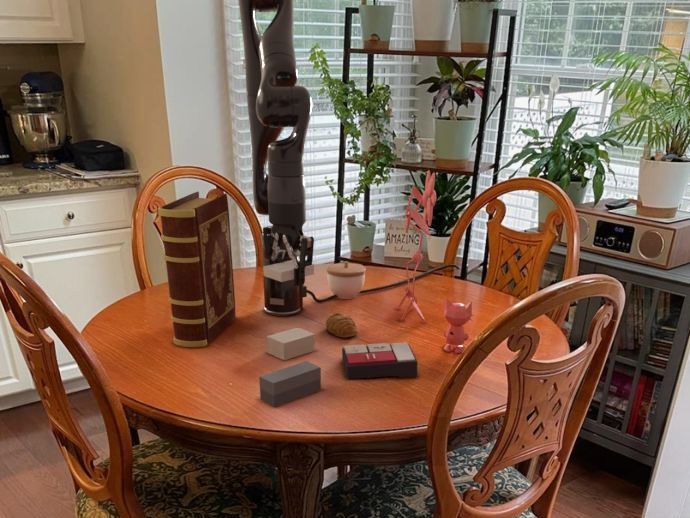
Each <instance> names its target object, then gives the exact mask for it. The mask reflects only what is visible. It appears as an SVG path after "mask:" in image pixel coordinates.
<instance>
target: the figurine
mask: <svg viewBox="0 0 690 518" xmlns="http://www.w3.org/2000/svg"><path fill="white" fill-rule="evenodd" d="M435 182H436V173H435V172H432V174H431V170H430V169H427V172H426V175H425V183H424V184H425V185H424V191H423V192H422V193H421V191H420V190H419V189H418V188H417V187H416V186H415V185H413V186H412V187H411V192H410V196H409V200H408V203H407V206H406V210H405V213H404V220H405V223H406V224H405V225H406V226H405V233H406V234H409V228H410V226H412V227H413V228H414V229H415V230H416V231H417V232H418V233H420V240H419V245H418V251H416V252H414V253H413V254H412V255H411V259H410V260H409V261H407V262H405V268H406V276H407V277H406V279H408V282H407V286H406V287H405V288H404V289H405V294H404V296H403V297H402V299H401V301H400V303H399V305H398V306H397V308H396V309H397V310H398V311H400V309H401V307H402V306H403V304H404V302H405V300H406V298H408V299H409V301H410V302H409V304H408V306H407V307H406V309H405V311H404V312H403V314H402V316H401V318H400V322H403V321H404V319H405V317H406V315H407V314H408V312H409V310H410V308H411V306H412V307H413V308H414V310H415V312H416V313H417V315H418V317H419V318H420V319H421V320H422V321H423V322H424V323H425V322H426V320H425V317H424V315H423V313H422V311H421V310H420V307H419V306H418V300H417V297H416V295H415V282H416V281H415V280H416V279H415V276H416V272H417V269H418V267H419V264H420V263H421V262H422V260H423V255H422V253H421V249H422V243H423V237H424V233H425V234H426V235H428V236H431V232H430V229H429V227H431V225H432V222H433V213H434V212H433V208H434V207H435V205H436V201H437V192H436V190H435ZM413 196H414V197H415V199H416V200H417V201H418V203H417V204H416V205H417V206H416V207H415V208H413V207H410V206H411V204H412V201H413V200H412V199H413ZM420 206H422V207H423V214H420V213H419V212H418V211H417V210H418V209H419V208H420ZM422 215H423V216H422ZM411 219H412V220H413V221H414V223H415V224H416V225H417V226H416V225H415V224H414V223H412V222H411ZM423 232H424V233H423ZM412 262H413V263H415V264H416V266H415V268H414V271H413V273H412V277H413V280H412V289H411V286H410V281H409V278H410V276H409V267H408V264H409V263H412ZM431 304H432V305H437V306H439V307H442V308H444V305H441V304H438V303H434V302H431ZM402 328H404V329H407V326H401V329H402Z"/></svg>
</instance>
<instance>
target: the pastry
mask: <svg viewBox="0 0 690 518" xmlns="http://www.w3.org/2000/svg"><path fill="white" fill-rule="evenodd" d="M325 327H326V330H327V331H328V332H329V333H331V334H332V335H334V336H335V337H338V338H348V337H355V336H356V334H357V333H358V330H357V328H358V327H357V325H356V322H355V320H354V319H353V318H352V317H351V315H350V316H349V315H346V314H344V313H341V312H335V313H333V314H331V315H329V317H327V319H326V321H325Z"/></svg>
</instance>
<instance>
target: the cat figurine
mask: <svg viewBox="0 0 690 518" xmlns="http://www.w3.org/2000/svg"><path fill="white" fill-rule="evenodd" d="M472 308H473V301H470V302H468V303H466V304H464V303H461V302H454V303H452V302H451V301H450V300H449V299H448V298H445V300H444V305H443V315H444V318H445V319H446V322H448V323H449V326H448V328H447V329H446V330H444V334H443V336H444V337H445V344H446V345H444V347H443V349H444V351H446V352H448V353H451V352H453V350H454V353H455V354H460V353H464V352H463V350H464V349H465V347H464V346H463V345H464V344H465V341H467V340H468V339H469V333H468V332H467V331H466V332H465V329H464V325H466V324H467V323H468V322H469V321H472V322H474V321H473V319H471V318H472V317H474V315H473V312H472V311H473V309H472ZM453 346H456V347H455V349H453Z"/></svg>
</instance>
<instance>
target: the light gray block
mask: <svg viewBox="0 0 690 518" xmlns="http://www.w3.org/2000/svg"><path fill="white" fill-rule="evenodd" d="M315 341H316V339H315V333H312V332H310V331H307V330H305V329H303V328H300V327H294V328H289V329H287V330H284V331H281V332H277V333H274V334H273V333H272V334H269V335H267V336H266V350H267V354H269V355H271V356H274V357H275V358H277V359H279V360H282V361H286V360H290V359H293V358H296V357H299V356H302V355H306V354H309V353H313V352H315V350H316V349H315V348H316V346H315V343H316V342H315Z"/></svg>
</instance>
